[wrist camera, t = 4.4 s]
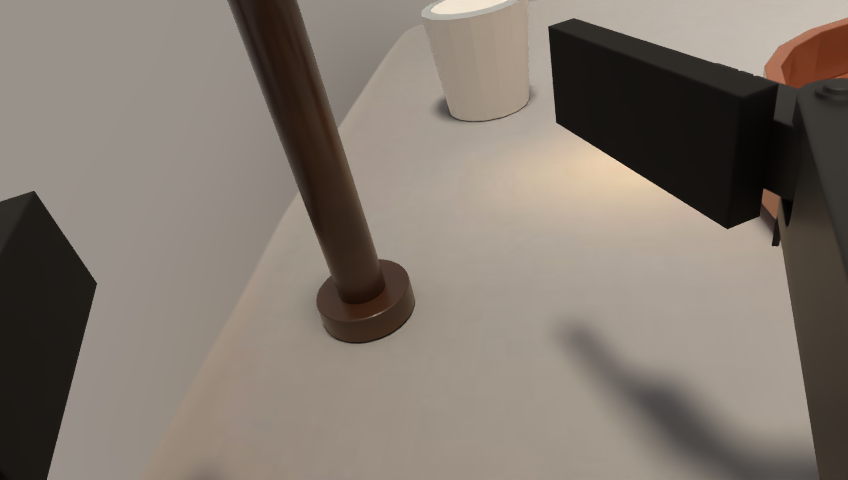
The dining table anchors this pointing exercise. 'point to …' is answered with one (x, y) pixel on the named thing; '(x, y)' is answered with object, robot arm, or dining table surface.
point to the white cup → (480, 55)
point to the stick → (322, 175)
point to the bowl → (808, 67)
